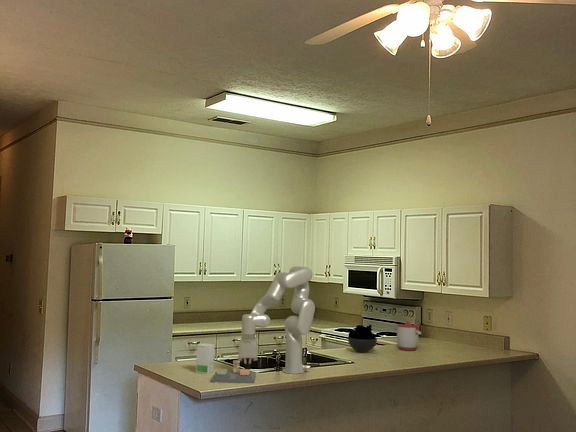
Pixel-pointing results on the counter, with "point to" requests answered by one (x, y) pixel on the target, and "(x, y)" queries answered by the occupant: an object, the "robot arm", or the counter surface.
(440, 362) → the counter surface
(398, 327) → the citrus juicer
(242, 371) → the terracotta button
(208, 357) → the skincare box
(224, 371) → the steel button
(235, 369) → the birch paddle
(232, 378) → the switch panel
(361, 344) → the bowl of black rocks
